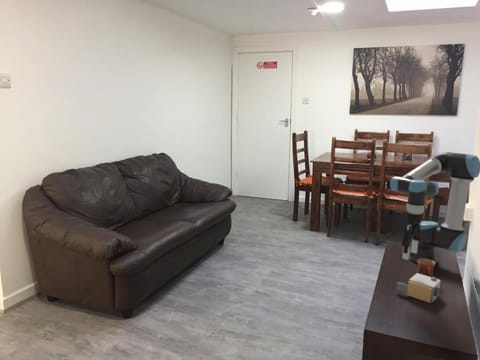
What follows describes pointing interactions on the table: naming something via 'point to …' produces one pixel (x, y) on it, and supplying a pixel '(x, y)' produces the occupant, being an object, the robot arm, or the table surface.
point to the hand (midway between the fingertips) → (409, 255)
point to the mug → (426, 267)
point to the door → (417, 291)
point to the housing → (427, 283)
